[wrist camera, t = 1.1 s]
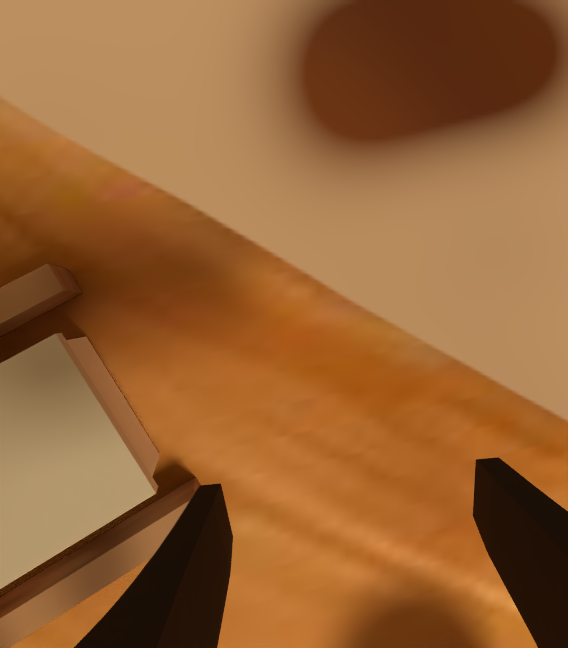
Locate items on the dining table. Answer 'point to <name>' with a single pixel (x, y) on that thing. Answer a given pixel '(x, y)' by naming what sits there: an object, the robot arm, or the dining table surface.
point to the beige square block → (64, 452)
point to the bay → (107, 549)
